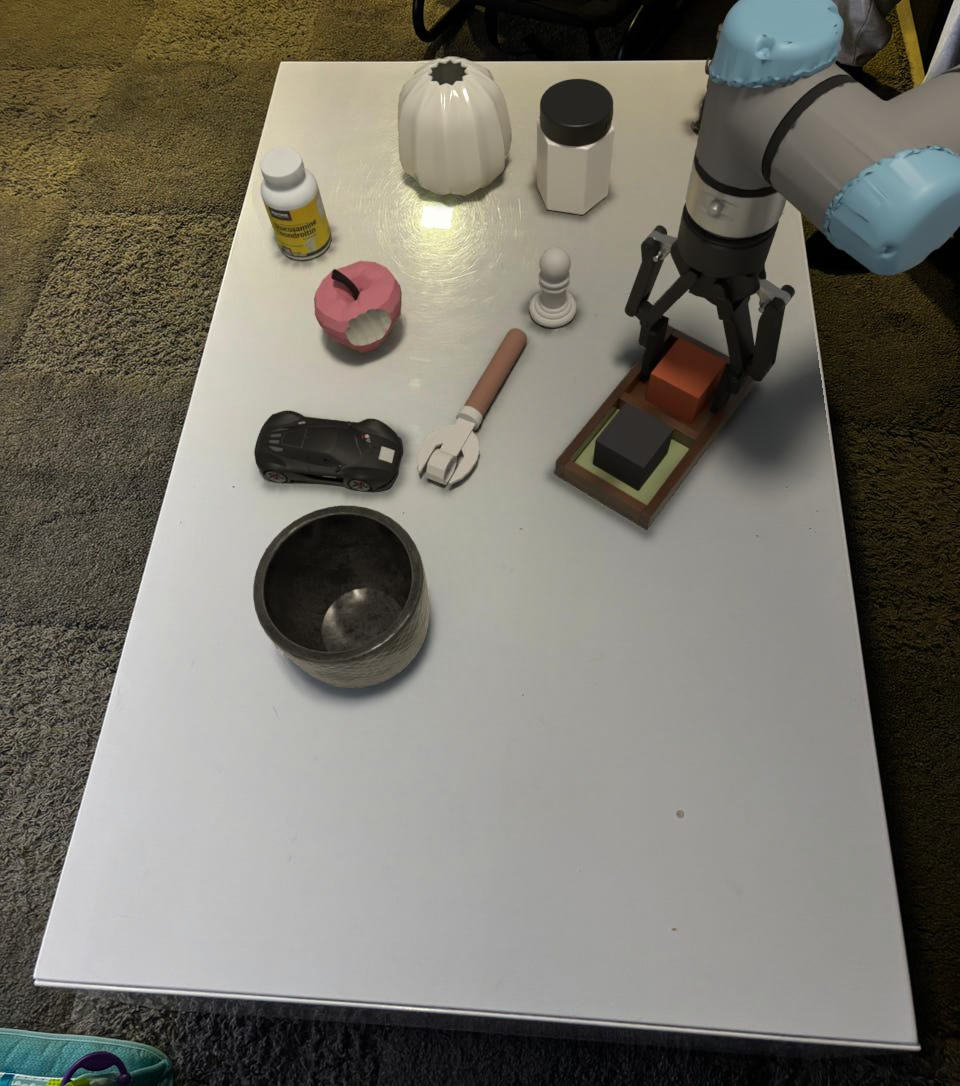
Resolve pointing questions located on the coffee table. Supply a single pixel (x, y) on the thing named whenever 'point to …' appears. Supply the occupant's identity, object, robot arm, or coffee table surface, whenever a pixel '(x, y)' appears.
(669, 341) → the frame
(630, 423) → the black cube
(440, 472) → the pizza cutter
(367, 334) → the apple
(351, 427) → the toy car
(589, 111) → the jar
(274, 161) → the pill bottle
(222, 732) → the coffee table surface
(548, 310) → the chess piece
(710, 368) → the orange block
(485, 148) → the vase
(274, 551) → the planter
